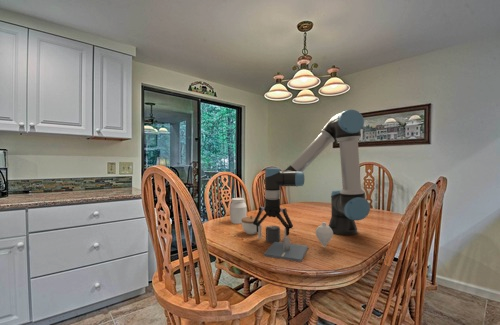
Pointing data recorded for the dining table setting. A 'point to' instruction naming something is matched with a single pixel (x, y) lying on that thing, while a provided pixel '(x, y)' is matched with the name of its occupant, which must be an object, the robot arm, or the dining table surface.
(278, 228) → the knob
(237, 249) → the dining table surface
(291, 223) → the robot arm
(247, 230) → the lidded jar
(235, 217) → the jar
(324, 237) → the spinning top
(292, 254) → the shaft plate
